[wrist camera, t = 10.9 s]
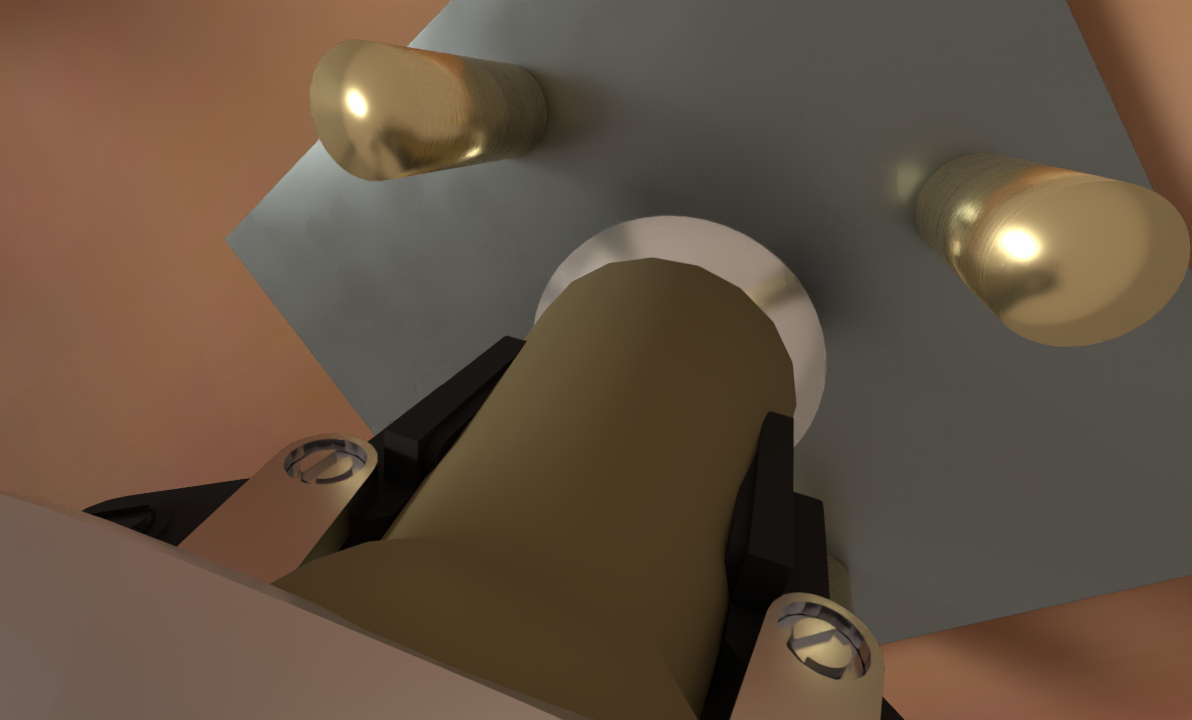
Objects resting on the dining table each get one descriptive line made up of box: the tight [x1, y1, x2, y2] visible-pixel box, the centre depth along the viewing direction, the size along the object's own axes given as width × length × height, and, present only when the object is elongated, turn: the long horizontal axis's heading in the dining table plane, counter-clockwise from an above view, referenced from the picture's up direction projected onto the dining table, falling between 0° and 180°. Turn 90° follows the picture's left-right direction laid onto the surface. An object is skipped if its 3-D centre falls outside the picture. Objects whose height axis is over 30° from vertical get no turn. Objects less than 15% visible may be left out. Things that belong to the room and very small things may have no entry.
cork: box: [270, 257, 797, 720], centre depth 8 cm, size 6×6×11 cm
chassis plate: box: [225, 0, 1192, 645], centre depth 13 cm, size 19×19×6 cm
